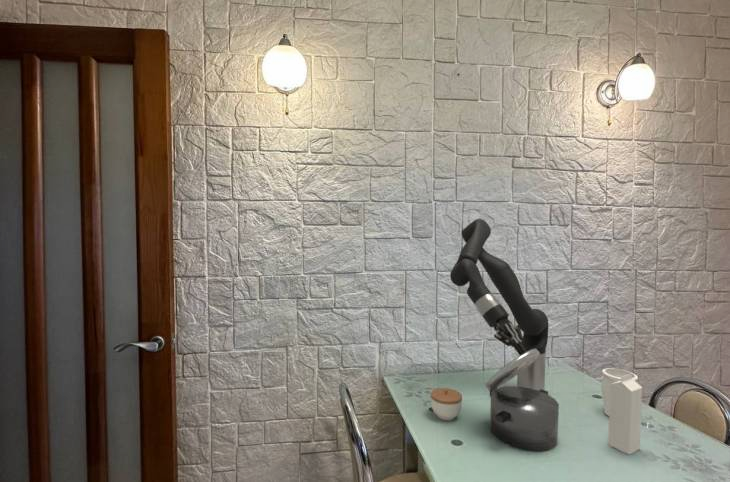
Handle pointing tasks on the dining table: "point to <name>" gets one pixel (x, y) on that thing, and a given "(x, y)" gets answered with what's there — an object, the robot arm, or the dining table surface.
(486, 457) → the dining table surface
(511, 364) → the lid
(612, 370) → the jar
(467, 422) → the dining table surface
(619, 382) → the milk
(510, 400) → the cooker pot
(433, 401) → the lidded jar
